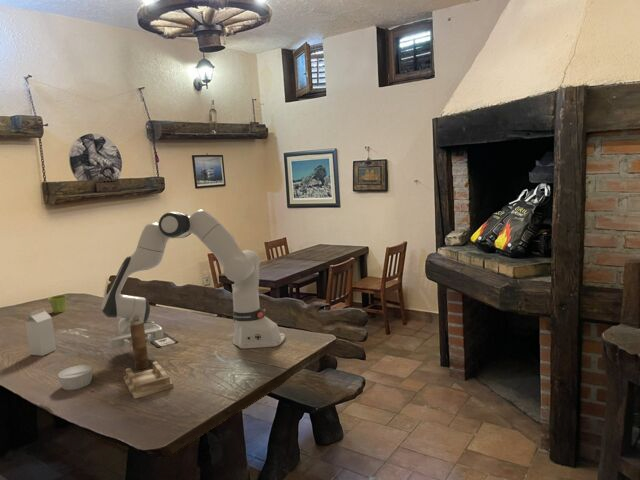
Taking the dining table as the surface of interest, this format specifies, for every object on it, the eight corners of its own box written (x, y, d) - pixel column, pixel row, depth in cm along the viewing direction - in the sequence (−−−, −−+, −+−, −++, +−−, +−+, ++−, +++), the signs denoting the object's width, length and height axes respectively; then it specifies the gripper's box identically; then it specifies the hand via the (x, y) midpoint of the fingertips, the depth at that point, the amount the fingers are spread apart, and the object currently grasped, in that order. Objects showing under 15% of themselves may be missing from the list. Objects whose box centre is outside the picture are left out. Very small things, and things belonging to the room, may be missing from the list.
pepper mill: (151, 363, 183) (145, 313, 180) (144, 369, 179) (138, 317, 176) (139, 363, 184) (133, 313, 181) (132, 369, 179) (126, 317, 177)
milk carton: (56, 350, 206) (50, 308, 204) (42, 356, 200) (35, 313, 197) (44, 349, 209) (38, 307, 206) (30, 355, 202) (23, 312, 199)
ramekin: (70, 394, 161) (68, 380, 160) (53, 388, 167) (51, 374, 166) (100, 381, 171) (98, 367, 170) (82, 376, 176) (81, 362, 176)
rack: (124, 380, 170) (122, 370, 169) (160, 370, 177) (159, 360, 176) (134, 398, 155) (132, 387, 154) (173, 387, 162) (172, 376, 161)
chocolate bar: (163, 332, 221) (178, 341, 207) (164, 334, 221) (178, 343, 207) (144, 336, 216) (157, 346, 201) (144, 338, 216) (157, 348, 201)
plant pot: (57, 309, 277) (55, 295, 275) (72, 309, 275) (70, 294, 274) (46, 314, 267) (44, 299, 266) (61, 314, 266) (59, 299, 265)
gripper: (104, 331, 185) (109, 340, 174) (157, 320, 196) (165, 328, 184) (106, 346, 186) (111, 357, 175) (159, 334, 197) (167, 344, 185)
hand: (139, 342), depth 179 cm, fingers closed on pepper mill, 5 cm apart
